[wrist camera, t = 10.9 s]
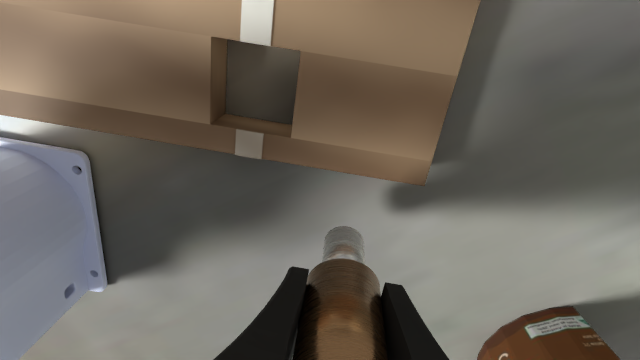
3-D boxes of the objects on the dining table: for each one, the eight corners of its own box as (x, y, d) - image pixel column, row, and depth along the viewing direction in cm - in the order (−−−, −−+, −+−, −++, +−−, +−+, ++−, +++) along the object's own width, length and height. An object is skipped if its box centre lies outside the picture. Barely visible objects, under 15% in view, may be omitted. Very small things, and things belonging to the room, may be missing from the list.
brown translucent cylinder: (368, 272, 16) (381, 470, 9) (309, 262, 16) (276, 451, 9) (380, 222, 15) (407, 403, 8) (318, 211, 15) (287, 382, 8)
